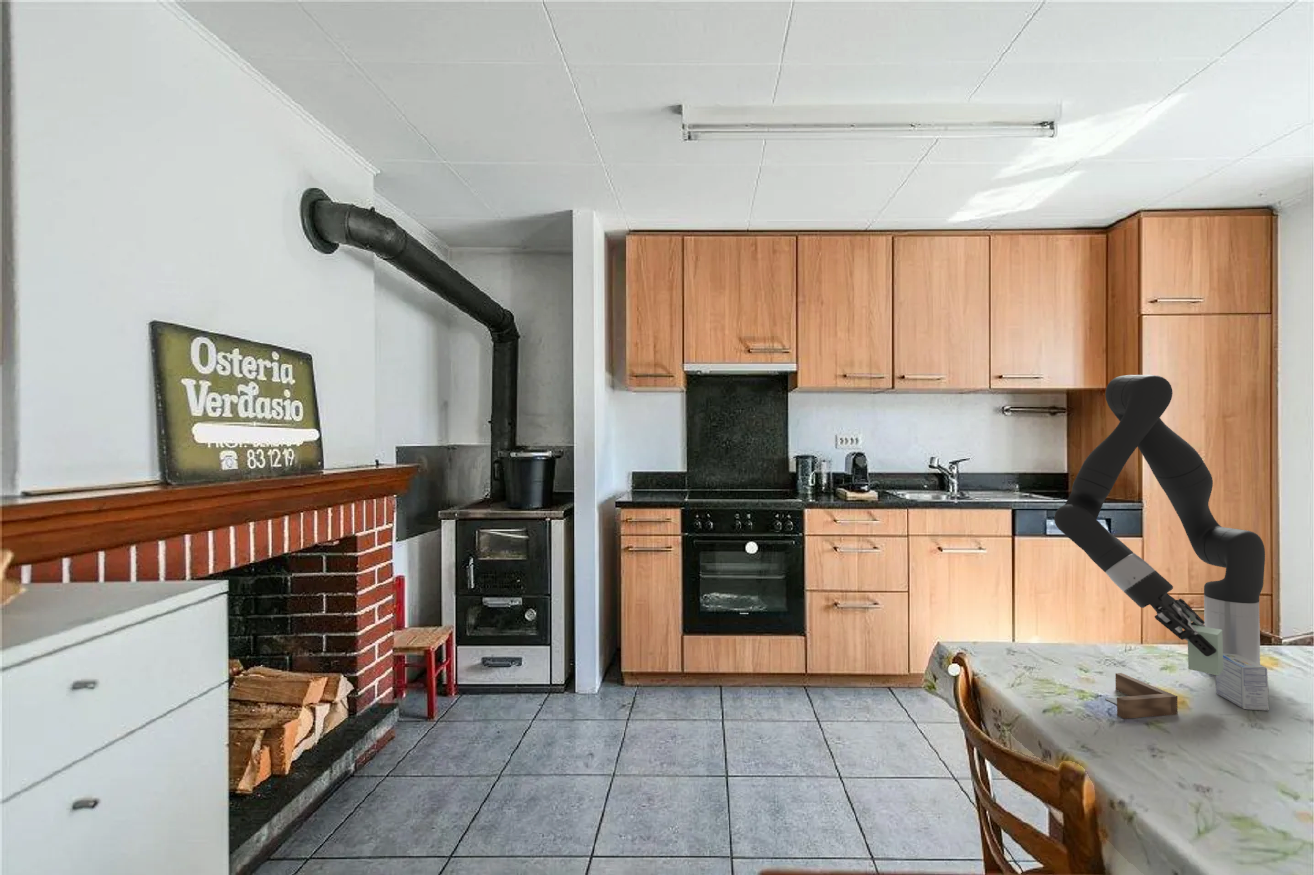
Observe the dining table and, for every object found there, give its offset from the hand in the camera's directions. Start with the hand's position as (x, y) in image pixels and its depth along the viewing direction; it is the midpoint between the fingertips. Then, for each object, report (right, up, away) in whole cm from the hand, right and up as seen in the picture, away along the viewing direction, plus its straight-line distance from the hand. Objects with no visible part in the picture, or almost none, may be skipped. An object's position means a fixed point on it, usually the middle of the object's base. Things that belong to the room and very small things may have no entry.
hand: (1214, 650), depth 120 cm
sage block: (-1, -4, +1) cm, 4 cm away
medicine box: (+9, -12, +3) cm, 15 cm away
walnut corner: (-16, -12, +3) cm, 20 cm away
